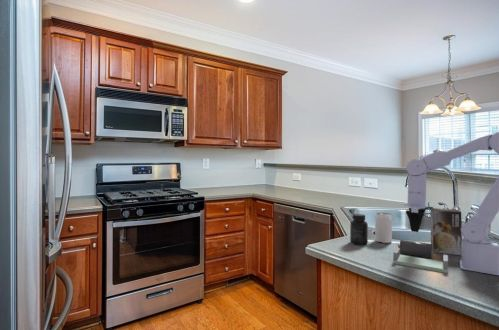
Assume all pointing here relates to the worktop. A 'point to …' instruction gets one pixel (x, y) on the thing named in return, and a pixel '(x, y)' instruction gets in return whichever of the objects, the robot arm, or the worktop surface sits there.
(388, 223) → the can
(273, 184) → the worktop surface
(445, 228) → the coffee box
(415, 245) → the cell
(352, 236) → the supplement bottle
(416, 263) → the holder
